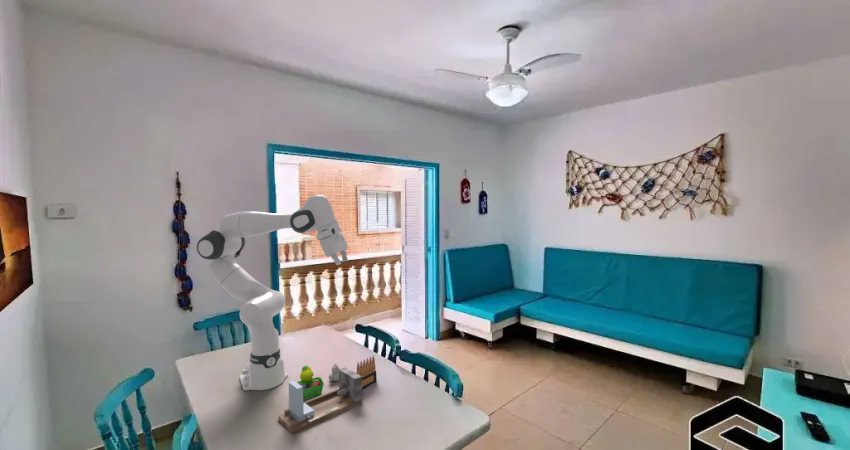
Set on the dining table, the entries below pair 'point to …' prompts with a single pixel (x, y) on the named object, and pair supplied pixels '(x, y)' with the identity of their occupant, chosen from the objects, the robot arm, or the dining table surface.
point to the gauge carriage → (298, 403)
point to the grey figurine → (334, 373)
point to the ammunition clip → (367, 372)
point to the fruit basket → (310, 383)
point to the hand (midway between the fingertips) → (342, 262)
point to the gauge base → (329, 402)
